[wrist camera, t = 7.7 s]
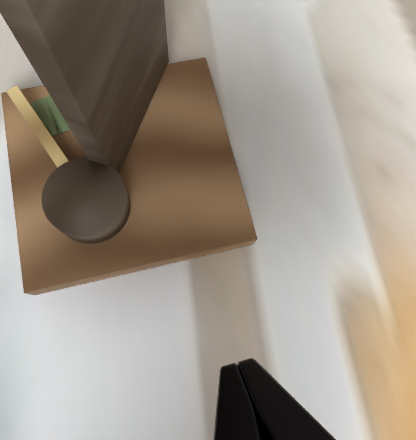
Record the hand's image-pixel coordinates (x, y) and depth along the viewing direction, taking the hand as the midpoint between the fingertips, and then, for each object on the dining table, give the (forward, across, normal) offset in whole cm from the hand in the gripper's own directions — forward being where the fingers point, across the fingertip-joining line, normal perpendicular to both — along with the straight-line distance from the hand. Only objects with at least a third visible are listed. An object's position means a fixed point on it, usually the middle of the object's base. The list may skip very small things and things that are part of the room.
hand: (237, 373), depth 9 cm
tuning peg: (+18, +4, -2) cm, 19 cm away
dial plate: (+18, +3, +1) cm, 18 cm away
